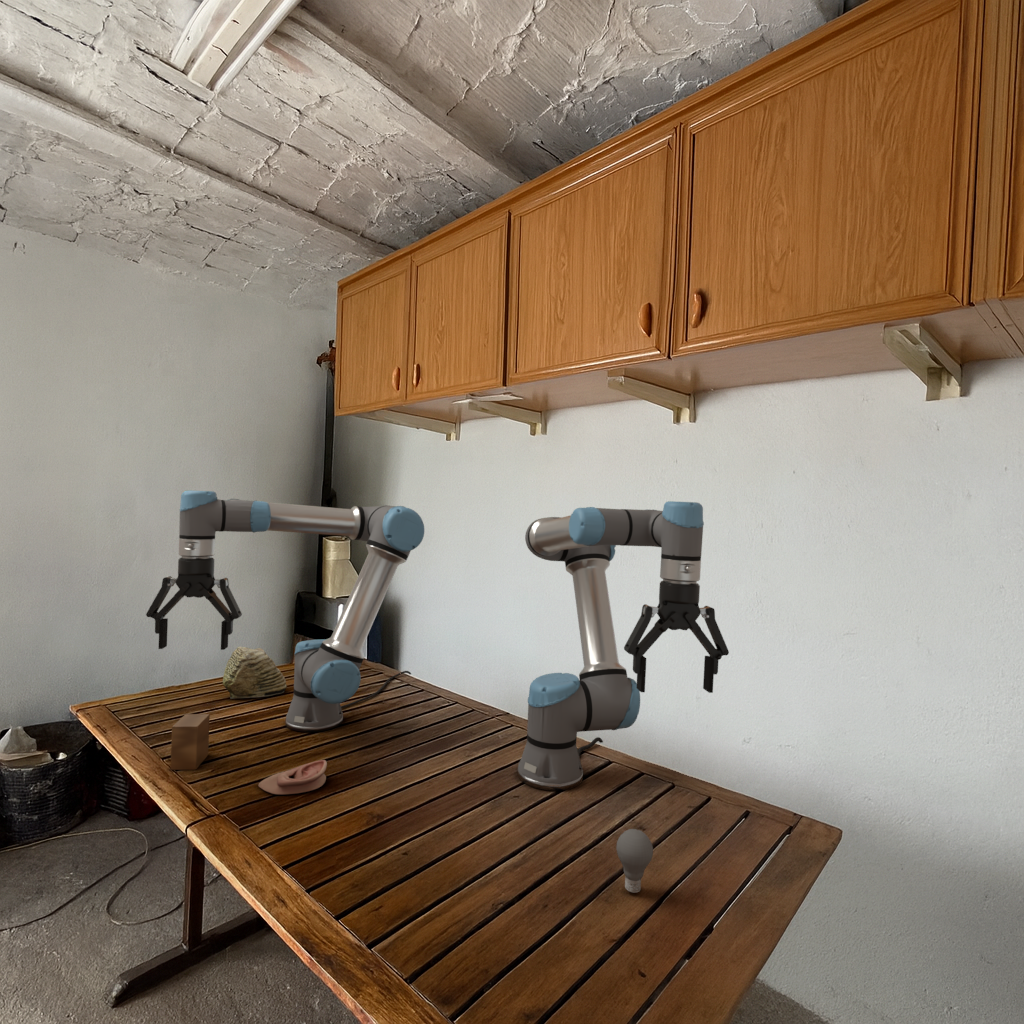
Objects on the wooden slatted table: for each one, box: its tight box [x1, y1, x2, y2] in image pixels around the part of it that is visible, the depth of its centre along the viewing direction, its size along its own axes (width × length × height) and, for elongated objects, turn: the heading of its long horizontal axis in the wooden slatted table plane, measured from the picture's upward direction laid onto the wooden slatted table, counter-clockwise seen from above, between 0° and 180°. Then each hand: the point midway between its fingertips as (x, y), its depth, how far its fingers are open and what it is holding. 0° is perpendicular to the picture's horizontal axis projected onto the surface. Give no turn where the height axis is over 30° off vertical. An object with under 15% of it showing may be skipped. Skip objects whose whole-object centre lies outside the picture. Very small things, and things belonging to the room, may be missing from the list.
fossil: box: [222, 646, 288, 699], centre depth 198 cm, size 9×18×15 cm, turn 132°
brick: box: [170, 713, 211, 771], centre depth 148 cm, size 5×8×10 cm, turn 8°
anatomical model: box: [257, 759, 328, 795], centre depth 139 cm, size 13×4×12 cm
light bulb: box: [615, 828, 654, 894], centre depth 106 cm, size 6×6×10 cm
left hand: (193, 648), depth 147 cm, fingers open, 13 cm apart
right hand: (674, 690), depth 123 cm, fingers open, 13 cm apart
